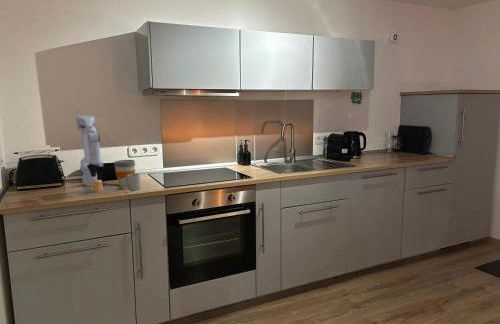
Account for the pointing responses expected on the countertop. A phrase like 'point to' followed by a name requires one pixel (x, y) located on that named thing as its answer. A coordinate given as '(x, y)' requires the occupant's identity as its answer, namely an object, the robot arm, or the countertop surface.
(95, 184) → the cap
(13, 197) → the countertop surface
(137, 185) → the cup
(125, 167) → the reusable coffee cup
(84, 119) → the robot arm
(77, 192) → the board
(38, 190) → the countertop surface
